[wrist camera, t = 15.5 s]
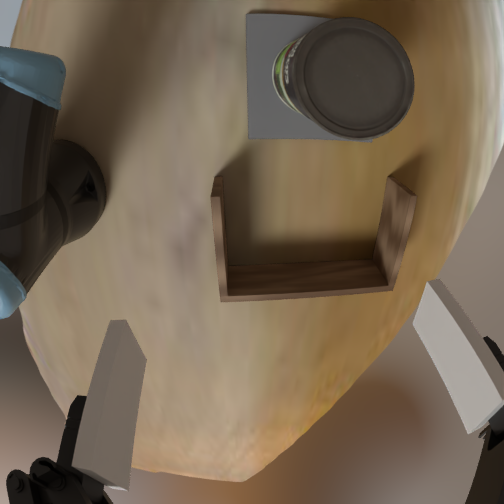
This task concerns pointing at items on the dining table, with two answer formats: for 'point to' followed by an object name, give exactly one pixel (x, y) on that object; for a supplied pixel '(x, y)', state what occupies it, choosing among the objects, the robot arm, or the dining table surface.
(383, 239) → the walnut u-shaped frame
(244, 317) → the dining table surface
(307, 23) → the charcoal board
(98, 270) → the dining table surface
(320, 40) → the coffee can
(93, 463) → the robot arm
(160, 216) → the dining table surface
